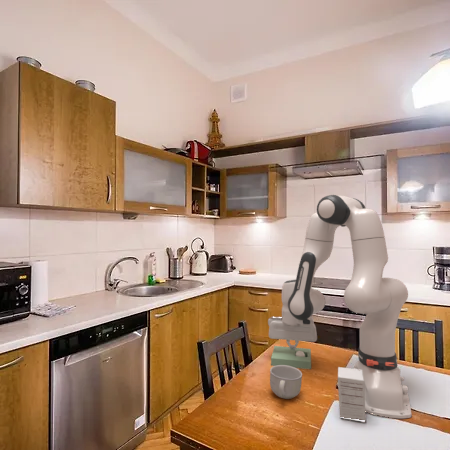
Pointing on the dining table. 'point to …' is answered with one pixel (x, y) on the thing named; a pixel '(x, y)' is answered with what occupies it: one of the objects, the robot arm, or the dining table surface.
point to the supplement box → (351, 393)
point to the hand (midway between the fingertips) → (292, 349)
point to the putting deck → (291, 357)
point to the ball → (300, 354)
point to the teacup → (285, 381)
